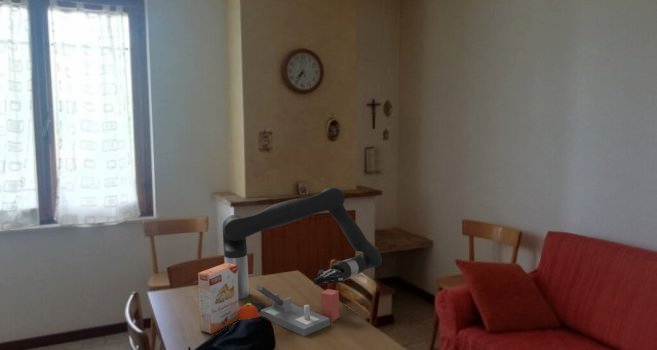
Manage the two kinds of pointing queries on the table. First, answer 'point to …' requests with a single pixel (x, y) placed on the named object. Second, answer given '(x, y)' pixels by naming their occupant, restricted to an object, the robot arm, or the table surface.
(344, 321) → the table surface
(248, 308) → the clementine
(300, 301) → the table surface
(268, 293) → the breaker lever
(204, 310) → the cracker box
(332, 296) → the red tall block
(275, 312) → the grey mounting base plate
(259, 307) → the phone
